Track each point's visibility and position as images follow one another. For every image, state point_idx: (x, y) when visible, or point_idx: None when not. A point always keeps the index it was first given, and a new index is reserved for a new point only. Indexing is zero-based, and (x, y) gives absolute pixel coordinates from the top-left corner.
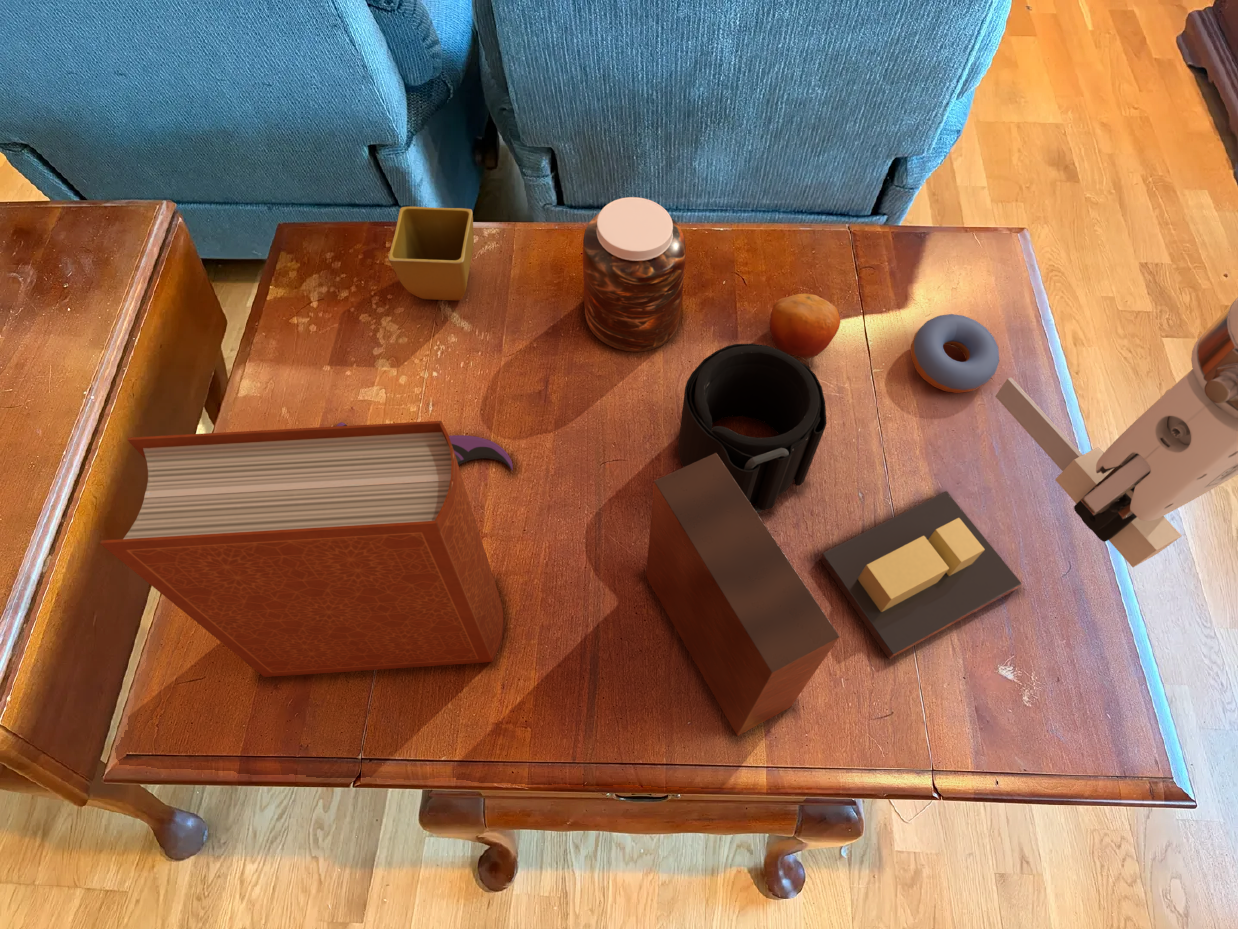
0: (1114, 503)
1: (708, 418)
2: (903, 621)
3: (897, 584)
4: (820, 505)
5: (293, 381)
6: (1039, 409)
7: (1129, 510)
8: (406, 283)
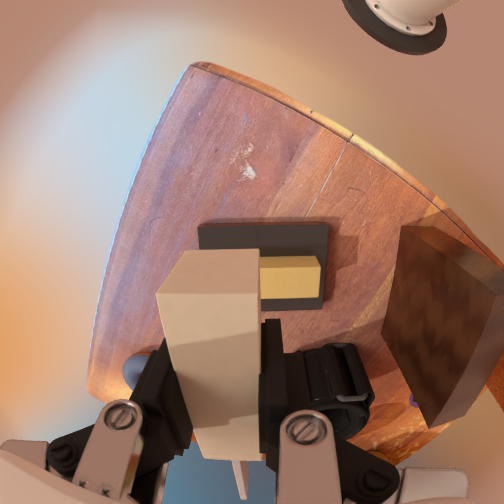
0: (408, 497)
1: (361, 420)
2: (305, 242)
3: (307, 274)
4: (293, 333)
5: (436, 427)
6: (239, 484)
7: (336, 456)
8: (388, 460)
